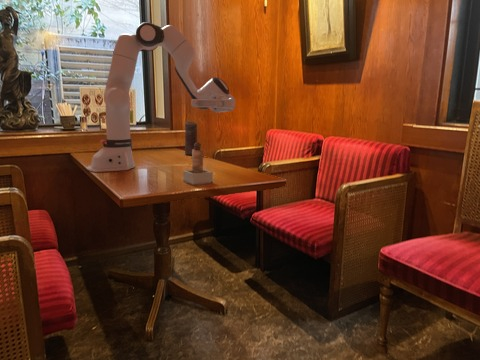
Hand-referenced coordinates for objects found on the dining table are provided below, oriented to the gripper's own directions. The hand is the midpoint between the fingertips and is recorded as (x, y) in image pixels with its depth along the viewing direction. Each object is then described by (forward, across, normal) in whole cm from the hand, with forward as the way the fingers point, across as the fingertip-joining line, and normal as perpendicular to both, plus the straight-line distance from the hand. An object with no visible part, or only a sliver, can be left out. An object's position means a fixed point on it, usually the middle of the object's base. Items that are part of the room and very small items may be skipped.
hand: (205, 103), depth 166 cm
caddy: (+18, +5, +32) cm, 37 cm away
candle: (-48, -33, +32) cm, 67 cm away
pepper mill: (+18, +5, +31) cm, 37 cm away
